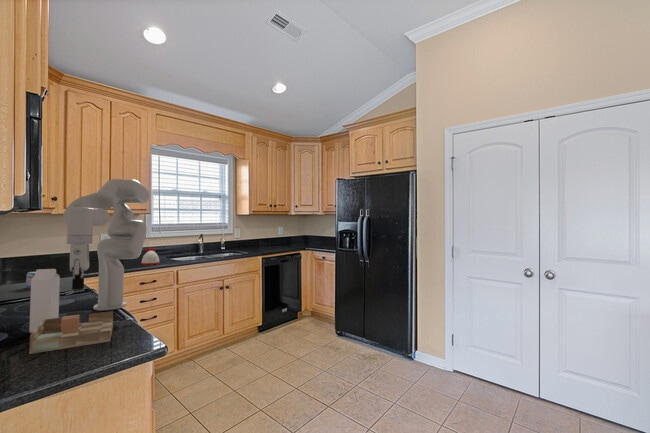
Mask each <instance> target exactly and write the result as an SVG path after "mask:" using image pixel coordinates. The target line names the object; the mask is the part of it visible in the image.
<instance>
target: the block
mask: <svg viewBox="0 0 650 433" xmlns="http://www.w3.org/2000/svg"><path fill="white" fill-rule="evenodd" d="M80 316H81V315H80V314H73V315H72V314H71V315H63V316H62V320H61V332H63V331H70V330H77V329H78V328H79V323H80Z"/></svg>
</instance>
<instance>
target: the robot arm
mask: <svg viewBox="0 0 650 433" xmlns="http://www.w3.org/2000/svg"><path fill="white" fill-rule="evenodd" d="M149 199H150V192H149V190H148V189H147V187H146V186H145V185H143V183H141V182H140V181H139V180H136V179H127V178H123V179H122V178H111V179H109V180H107V181H106V182H105V184H103V185H102V187H101V188H100V189H99V190H97V192H94V193H90V194H87V195H84V196H81V197H79V198H76V199H75V200H73V201H72V202H70V204H68V206H66V208H65V210H64V211H63V215H62V218H63V221H64V222H65V223H66V245H70V248H69V250H70V251H69V271H70V272H72V282H71V283H72V285H71V287H72V288H71V289H72V290H73V291H77V290H83V289H84V288H85V287H84V285H85V277H84V275H85V274H84V272H86V271H87V270H89V268H90V245H91V244H93V234H94V233H93V232H94V231H93V227H101V226H103V225H106V224H107V223H108V222H109V219H110V214H109V212H108V210H107V209H110V208H111V209H113V210H112V211H113V213H112V217H111V220H110V222H109V224H108V228H107V236H108V237H109V238H103V239H102V240H101V239H100V240H99V242H98V243H97V245H96V252H97V253H96V254H97V258H98V286H97V287H98V288H97V289H98V290H97V296H98V297H97V303H96V304H94V305H93V310H94V311H103V312H106V311H112V310H113V311H114V310H118V309H122V308H124V307H126V306H127V305H128V302H126V301H124V284H125V283H124V282H125V281H124V278H125V277H124V276H125V275H124V273H125V268H124V265H123V264H122V262H121V261H120V260H135V259H138V258H139V257H141V256H140V255H141V254H142V251H143V247H144V243H145V239H146V237H147V224H146V222H144V220H140V219H133V218H134V215H135V214H134V211H132V209H131V208H130V207H129V206H128V205H127V204H146V203H147V202H148V201H149Z"/></svg>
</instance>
